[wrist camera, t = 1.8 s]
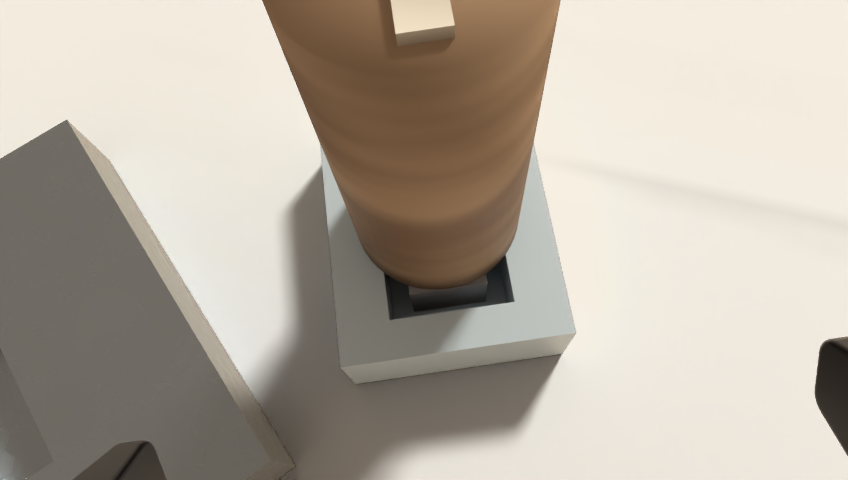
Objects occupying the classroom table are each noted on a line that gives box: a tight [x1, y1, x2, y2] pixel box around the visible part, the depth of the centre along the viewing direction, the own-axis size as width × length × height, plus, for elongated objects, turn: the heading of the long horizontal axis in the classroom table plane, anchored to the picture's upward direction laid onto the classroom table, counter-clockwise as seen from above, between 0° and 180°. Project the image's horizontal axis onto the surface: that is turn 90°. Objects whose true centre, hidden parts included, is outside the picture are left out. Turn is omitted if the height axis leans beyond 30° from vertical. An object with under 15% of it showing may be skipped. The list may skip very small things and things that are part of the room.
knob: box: [262, 0, 560, 312], centre depth 17 cm, size 5×5×13 cm
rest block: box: [320, 142, 576, 384], centre depth 23 cm, size 9×7×3 cm
